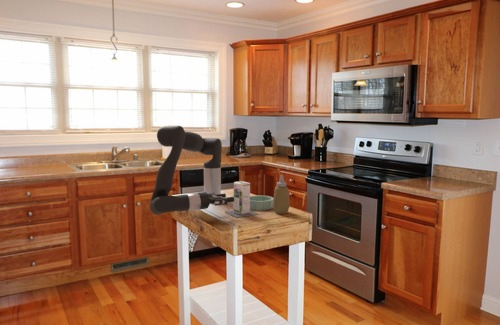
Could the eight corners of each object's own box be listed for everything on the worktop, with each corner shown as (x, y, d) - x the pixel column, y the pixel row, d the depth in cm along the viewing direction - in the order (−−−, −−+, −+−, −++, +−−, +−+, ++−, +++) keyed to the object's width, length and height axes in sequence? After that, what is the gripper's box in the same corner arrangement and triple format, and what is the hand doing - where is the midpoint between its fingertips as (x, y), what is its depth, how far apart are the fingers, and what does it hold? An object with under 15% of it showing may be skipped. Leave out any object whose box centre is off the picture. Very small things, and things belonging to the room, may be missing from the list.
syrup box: (232, 212, 185) (232, 182, 183) (242, 210, 189) (242, 180, 187) (240, 214, 181) (240, 183, 179) (250, 212, 185) (250, 182, 183)
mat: (224, 212, 187) (224, 211, 187) (246, 209, 193) (246, 208, 193) (236, 217, 177) (236, 217, 177) (259, 214, 183) (259, 213, 183)
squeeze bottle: (283, 209, 192) (284, 173, 190) (293, 213, 185) (293, 175, 183) (269, 211, 188) (269, 174, 186) (278, 215, 181) (279, 176, 179)
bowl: (240, 205, 200) (240, 197, 200) (263, 202, 207) (263, 194, 207) (254, 211, 188) (254, 202, 188) (278, 208, 195) (279, 199, 195)
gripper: (203, 195, 166) (236, 192, 174) (190, 190, 178) (222, 186, 187) (203, 213, 167) (237, 208, 175) (190, 206, 179) (222, 202, 187)
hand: (229, 197), depth 181 cm, fingers open, 8 cm apart
